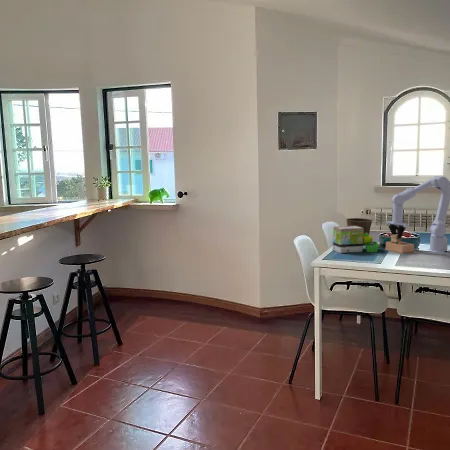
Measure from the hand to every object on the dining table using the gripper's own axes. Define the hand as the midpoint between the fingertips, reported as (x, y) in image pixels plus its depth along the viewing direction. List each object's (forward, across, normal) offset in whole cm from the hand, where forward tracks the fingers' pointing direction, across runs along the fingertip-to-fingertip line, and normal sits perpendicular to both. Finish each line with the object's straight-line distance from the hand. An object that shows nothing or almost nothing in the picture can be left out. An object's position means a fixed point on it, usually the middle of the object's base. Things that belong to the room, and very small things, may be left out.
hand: (396, 237), depth 275 cm
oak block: (+2, 0, 0) cm, 2 cm away
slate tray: (+8, +4, +1) cm, 9 cm away
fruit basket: (+8, -6, -14) cm, 18 cm away
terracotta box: (+7, +3, 0) cm, 8 cm away
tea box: (+8, -13, -25) cm, 30 cm away
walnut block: (+7, +5, 0) cm, 9 cm away
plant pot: (+8, -27, -5) cm, 29 cm away
